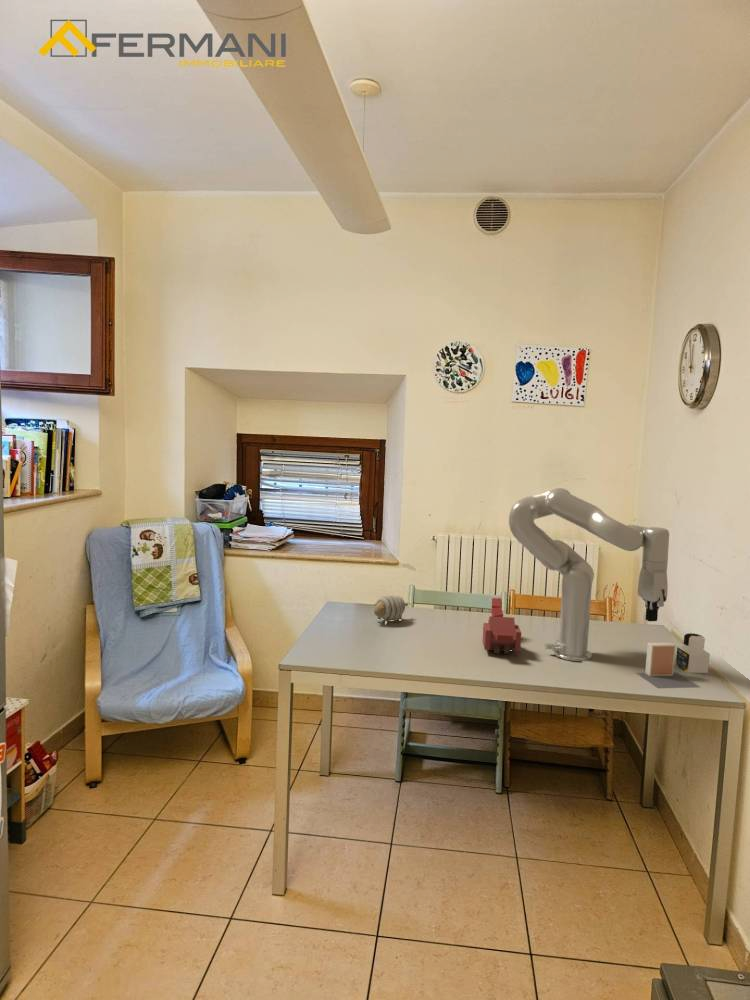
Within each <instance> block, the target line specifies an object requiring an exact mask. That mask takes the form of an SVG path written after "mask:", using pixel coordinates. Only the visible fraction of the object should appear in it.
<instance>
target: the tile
mask: <svg viewBox="0 0 750 1000" xmlns="http://www.w3.org/2000/svg"><path fill="white" fill-rule="evenodd" d="M676 647H677V645H676V644H675V643H673V642H671V641H670V642H669V641H667V642H666V641H665V642H647V647H646V659H645V671H644V673H646V674H647V675H649V676H672V675H673V672H674V669H675V659H676V657H675V656H676Z"/></svg>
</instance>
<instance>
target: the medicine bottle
mask: <svg viewBox="0 0 750 1000" xmlns="http://www.w3.org/2000/svg"><path fill="white" fill-rule="evenodd" d="M705 640H706V638H705V637H704V636H703V635H701V634H698V633H693V632H692V633H691V632H690V633H689V632H688V633H686V634H684V636H683V643H682V644H683V645H676V655H675V656H676V657H675V666H677V667H678V668H679V669H681V670H683V671H684V672H685V673H687V674H709V667H710V666H709V665H710V656H711V655H710V652H708V651H706V650H705Z"/></svg>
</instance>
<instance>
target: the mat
mask: <svg viewBox="0 0 750 1000" xmlns="http://www.w3.org/2000/svg"><path fill="white" fill-rule="evenodd" d="M636 675H638V676H640V677H641V678H642V679H643V680H645V681H647V682H649V684H651V685H652V686H654V687H655V688H657V689H676V688H677V689H678V688H679V689H681V688H683V689H685V688H701V686H700V685H698V684H696V683H695V682H693V681H692V680H690V679H688V678H686V677H685V676H684V675H682V674H680V673H678V672H677V671H673V675H672V676H649V675H647V674H646V673H645V672H636Z"/></svg>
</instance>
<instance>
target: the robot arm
mask: <svg viewBox="0 0 750 1000" xmlns="http://www.w3.org/2000/svg"><path fill="white" fill-rule="evenodd" d="M508 515H509V516H508V526H509V529H510V532H511V533H512V535H513V537H514V538H515V539H516V540H517V541H518V542H519V544H521V545H522V547H524V548H525V549H526V550H527V551H528V552H529V553H530V554H531V555H533V556H534V558H535V559H537V561H539V562H540V563H541V564H542V565H543V566H544V567H545V568H546V569H548V570H550V571H557V572H558V573H559V574H560V575H561V576H562V578H561V603H560V621H559V631H558V632H559V633H558V639H556V640H555V642H553V643H545V644H544V649H545V650H551V651H552V652H553V655H554V656H556V657H558V658H560V659H561V660H562V659H563V660H567V661H572V662H582V661H589V660H590V659H592V657H593V654H592V652H590V651H589V650H588V647H589V634H590V633H589V632H590V631H589V629H590V619H591V616H590V615H591V605H592V604H591V603H592V589H593V582H594V579H595V573H594V572H595V571H594V569H593V567H592V566H591V564H589V562H587V561H586V560H585V559H584V558H583V557H582V556H581V555H580V554H579V553H577V552H576V551H575V550H574V549H573V548H572V547H571V546H570V545H569V544H567V543H566V542H564V541H562V540H558V539H553V538H552V537H551V536H549V535H548V534H547V533H546V532H545V531H544V530H543V529H541V528H540V527H539V526H538V525H537V524H536V523H535V520H536V519H541V518H544V517H548V516H552V515H555V516H557V517H560V518H561V519H563V520H565V521H568V522H570V523H571V524H573V525H576V526H578V527H580V528H582V529H583V530H585V531H587V532H588V533H590V534H592V535H594V536H596V537H597V538H600V540H604V542H607V543H608V544H611V545H612V546H615V547H617V548H619V549H622V550H624V551H627V552H634V551H635V552H636V551H637V550H640V548H641V547H642V559H641V560H642V561H641V568H640V571H639V576H638V582H637V595H638V596H639V598H641V599H642V600H643V601H644V605H645V620H646V621H648V622H657V621H658V615H659V614H658V613H659V610H660V608H661V607H663V608H664V607H665V604H664V603H665V602H667V599H668V583H669V582H668V573H667V572H668V561H669V544H670V531H669V530H668V529H667V528H664V527H657V526H655V527H653V526H652V527H649V526H648V527H647V526H646V527H645V526H640V525H635V524H627V525H626V524H624V523H622V522H620V521H619V520H616V519H614V518H612V517H610V515H607V514H606V513H605V512H604V511H603V510H602V509H601V508H599V507H598V506H596V505H594V504H592V503H590V502H588V501H586V500H584V499H582V498H579V497H577V496H576V495H573V494H572V493H571V492H570V491H569V490H568V489H567V488H562V487H560V488H559V487H558V488H554V489H552V490H551V489H550V490H548V491H544V492H541V493H538V494H534V495H530V496H526V497H523V498H521V499H519V500H517V501H516V502H515V503H514V504H513V505H512V507H511V508H510V511H509V514H508Z"/></svg>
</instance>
